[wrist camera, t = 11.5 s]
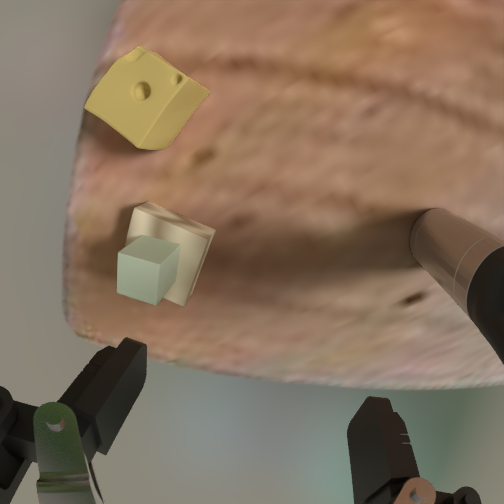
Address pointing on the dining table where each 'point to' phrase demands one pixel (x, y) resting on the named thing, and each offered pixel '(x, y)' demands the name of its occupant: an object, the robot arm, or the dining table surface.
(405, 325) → the dining table surface
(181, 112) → the cheese
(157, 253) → the block
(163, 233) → the birch box
